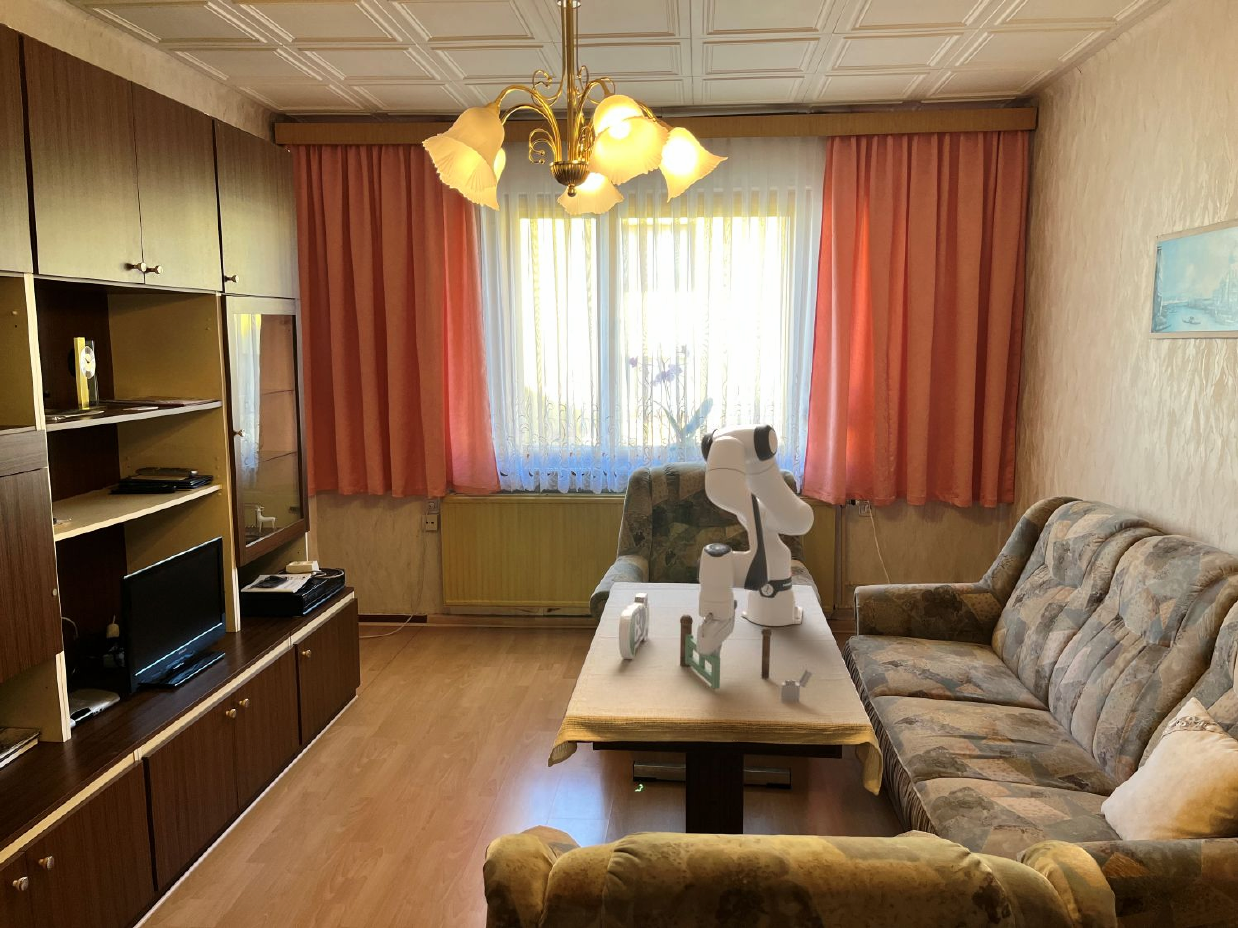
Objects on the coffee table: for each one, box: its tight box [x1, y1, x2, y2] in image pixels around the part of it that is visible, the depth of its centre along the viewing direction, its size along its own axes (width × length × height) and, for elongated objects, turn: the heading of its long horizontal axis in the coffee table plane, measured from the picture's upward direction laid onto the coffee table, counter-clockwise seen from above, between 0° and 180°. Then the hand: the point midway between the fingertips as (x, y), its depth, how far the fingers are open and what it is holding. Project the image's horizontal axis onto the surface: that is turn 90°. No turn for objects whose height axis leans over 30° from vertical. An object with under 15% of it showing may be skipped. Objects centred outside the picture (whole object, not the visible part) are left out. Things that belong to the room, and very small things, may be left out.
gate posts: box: [679, 614, 773, 679], centre depth 246 cm, size 3×25×14 cm, turn 66°
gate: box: [685, 633, 721, 690], centre depth 240 cm, size 2×19×8 cm, turn 18°
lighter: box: [780, 668, 813, 703], centre depth 227 cm, size 7×2×8 cm, turn 87°
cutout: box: [618, 592, 650, 660], centre depth 262 cm, size 15×3×25 cm
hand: (714, 660), depth 239 cm, fingers closed
